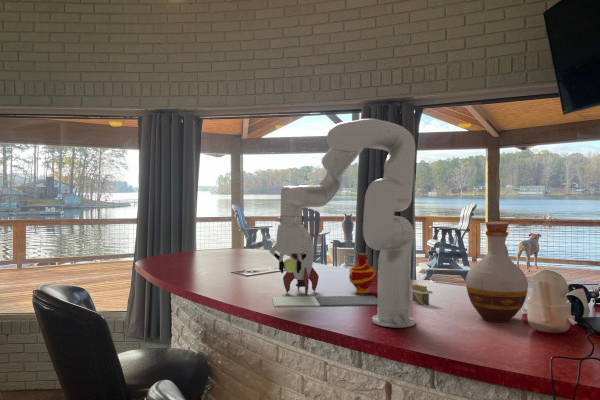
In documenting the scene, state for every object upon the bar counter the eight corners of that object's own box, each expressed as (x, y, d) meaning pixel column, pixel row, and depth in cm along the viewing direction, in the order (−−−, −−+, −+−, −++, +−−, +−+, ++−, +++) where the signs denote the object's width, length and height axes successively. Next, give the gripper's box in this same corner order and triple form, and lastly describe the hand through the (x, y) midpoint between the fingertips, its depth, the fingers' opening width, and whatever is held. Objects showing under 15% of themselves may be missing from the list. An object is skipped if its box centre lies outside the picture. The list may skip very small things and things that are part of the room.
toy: (282, 293, 185) (283, 215, 185) (295, 289, 194) (296, 214, 194) (308, 296, 180) (308, 216, 180) (320, 291, 189) (321, 215, 189)
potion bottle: (374, 295, 184) (375, 255, 184) (347, 293, 186) (347, 254, 186) (375, 290, 194) (376, 252, 194) (350, 288, 196) (350, 252, 196)
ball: (297, 273, 167) (298, 259, 167) (283, 273, 167) (283, 259, 167) (296, 271, 172) (296, 257, 172) (282, 271, 172) (282, 257, 172)
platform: (424, 311, 160) (424, 291, 160) (388, 300, 176) (389, 282, 176) (450, 307, 166) (450, 288, 166) (413, 297, 182) (413, 280, 182)
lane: (384, 305, 166) (384, 303, 166) (274, 306, 162) (274, 305, 162) (373, 297, 180) (373, 295, 180) (272, 298, 176) (272, 296, 176)
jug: (478, 308, 163) (479, 219, 163) (535, 317, 152) (537, 221, 151) (456, 319, 148) (457, 221, 148) (518, 329, 136) (519, 224, 136)
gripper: (267, 221, 165) (266, 274, 165) (316, 221, 167) (315, 274, 167) (266, 220, 172) (265, 270, 172) (313, 220, 174) (312, 270, 174)
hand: (290, 272), depth 170 cm, fingers closed on ball, 5 cm apart
